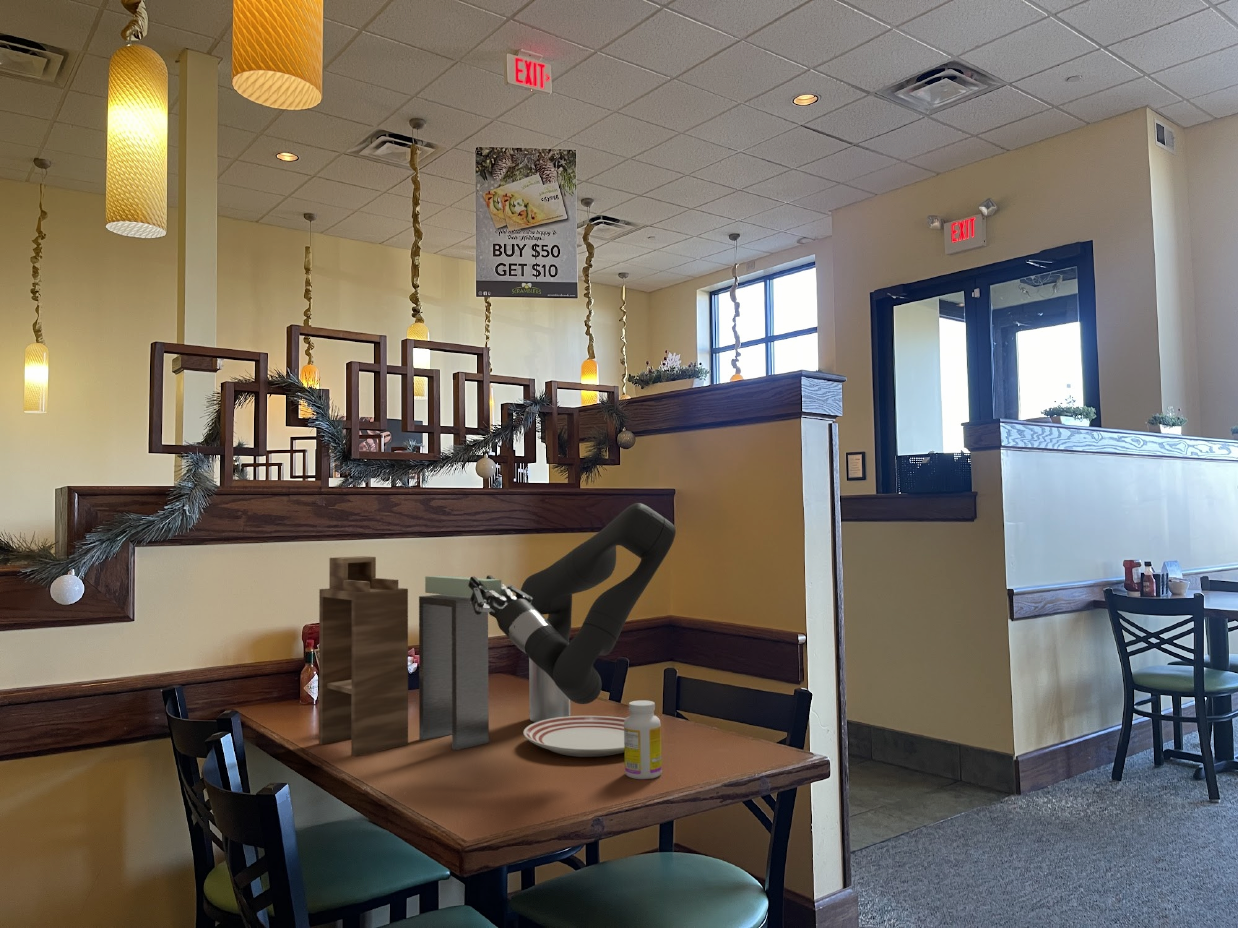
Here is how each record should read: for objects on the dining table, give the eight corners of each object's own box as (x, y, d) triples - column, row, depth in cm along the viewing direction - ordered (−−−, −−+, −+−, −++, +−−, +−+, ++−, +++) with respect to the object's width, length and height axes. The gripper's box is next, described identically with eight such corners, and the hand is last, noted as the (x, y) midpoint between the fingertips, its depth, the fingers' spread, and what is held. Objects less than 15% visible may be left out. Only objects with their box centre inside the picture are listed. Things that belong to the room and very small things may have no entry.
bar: (501, 597, 181) (501, 579, 182) (487, 598, 179) (487, 580, 179) (439, 591, 197) (438, 575, 197) (425, 592, 194) (425, 576, 195)
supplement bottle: (660, 769, 166) (659, 698, 166) (663, 779, 159) (662, 706, 160) (623, 770, 165) (622, 699, 166) (625, 780, 159) (624, 706, 159)
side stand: (488, 742, 187) (487, 596, 188) (456, 750, 181) (456, 599, 183) (450, 732, 196) (450, 593, 198) (419, 739, 190) (419, 596, 192)
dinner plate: (670, 733, 194) (670, 717, 194) (639, 768, 167) (638, 750, 167) (550, 726, 201) (550, 711, 201) (502, 759, 175) (501, 741, 175)
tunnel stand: (408, 744, 186) (407, 557, 188) (355, 756, 178) (355, 560, 180) (370, 732, 197) (370, 555, 199) (318, 743, 188) (319, 558, 190)
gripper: (560, 607, 177) (511, 562, 188) (503, 614, 167) (455, 565, 178) (548, 639, 179) (501, 592, 190) (491, 647, 169) (444, 597, 180)
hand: (479, 579), depth 184 cm, fingers closed on bar, 3 cm apart
